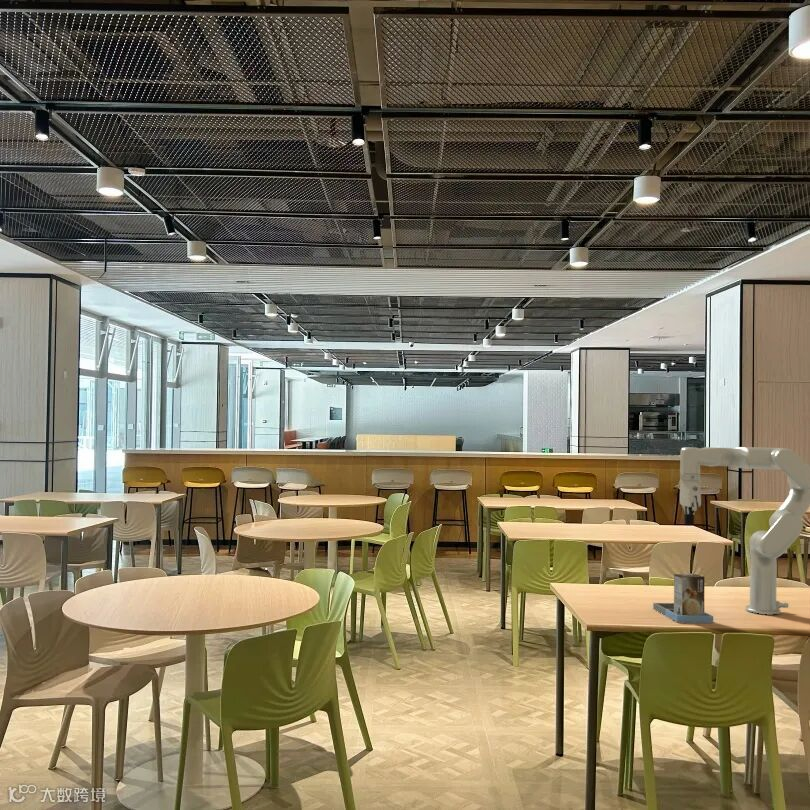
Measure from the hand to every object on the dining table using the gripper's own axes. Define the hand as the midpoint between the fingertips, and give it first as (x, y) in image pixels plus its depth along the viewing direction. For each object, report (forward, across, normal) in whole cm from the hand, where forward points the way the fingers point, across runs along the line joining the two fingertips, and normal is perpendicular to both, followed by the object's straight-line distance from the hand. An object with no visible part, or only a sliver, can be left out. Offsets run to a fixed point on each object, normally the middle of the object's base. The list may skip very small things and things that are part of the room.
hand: (689, 524), depth 317 cm
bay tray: (+33, -15, +9) cm, 37 cm away
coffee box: (+33, -20, +9) cm, 40 cm away
